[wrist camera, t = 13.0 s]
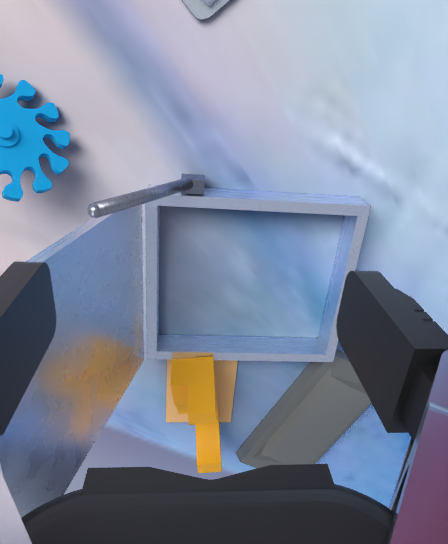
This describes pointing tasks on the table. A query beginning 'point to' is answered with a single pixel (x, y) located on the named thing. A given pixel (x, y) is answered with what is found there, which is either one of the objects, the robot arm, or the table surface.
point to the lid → (78, 357)
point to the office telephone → (204, 7)
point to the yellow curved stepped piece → (199, 406)
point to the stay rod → (138, 197)
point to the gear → (28, 141)
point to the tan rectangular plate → (224, 388)
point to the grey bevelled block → (308, 416)
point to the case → (242, 345)
